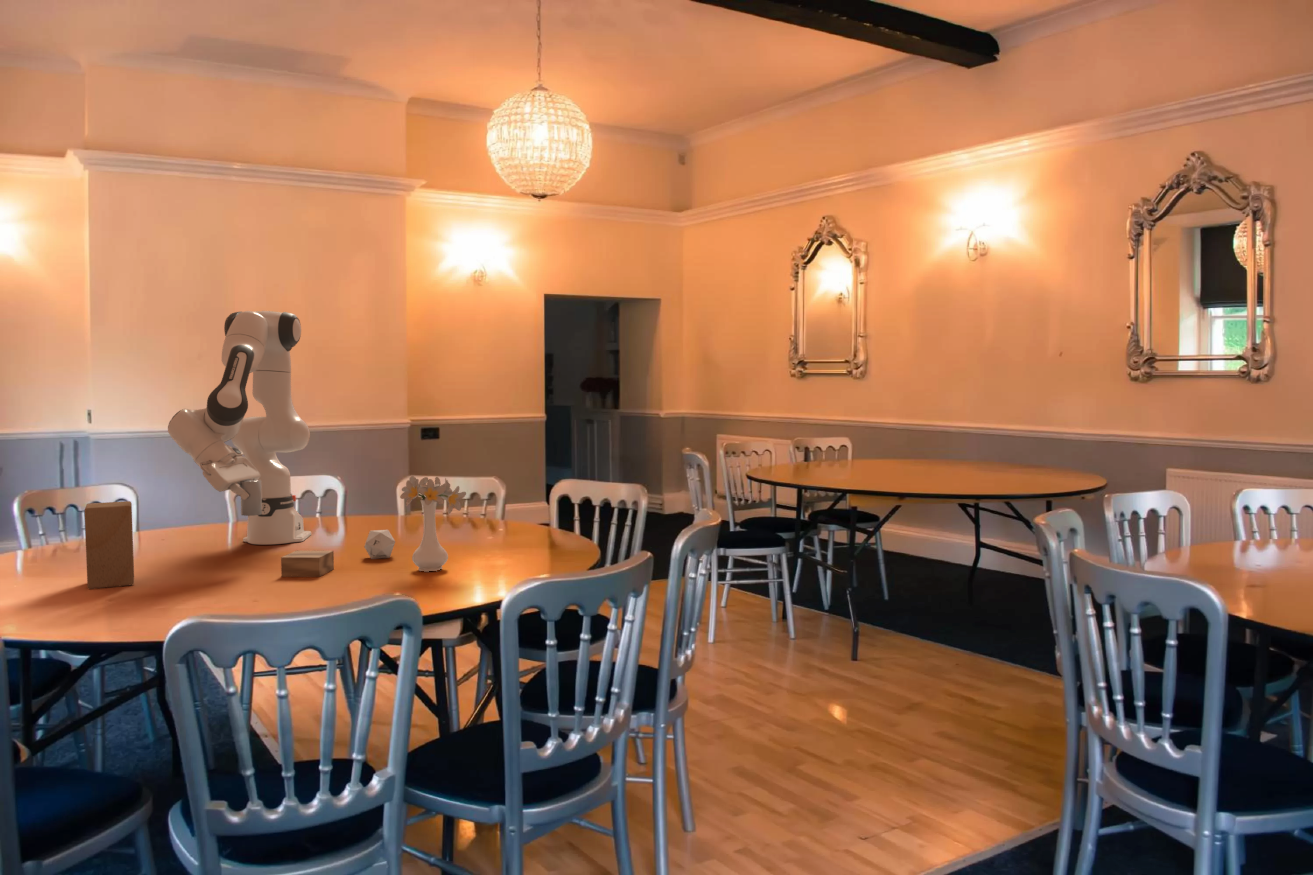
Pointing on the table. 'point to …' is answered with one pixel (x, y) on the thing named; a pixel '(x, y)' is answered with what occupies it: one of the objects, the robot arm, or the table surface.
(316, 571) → the oak block
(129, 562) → the wooden block
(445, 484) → the flower vase
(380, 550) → the die
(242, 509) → the grey square pillar
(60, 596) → the table surface
